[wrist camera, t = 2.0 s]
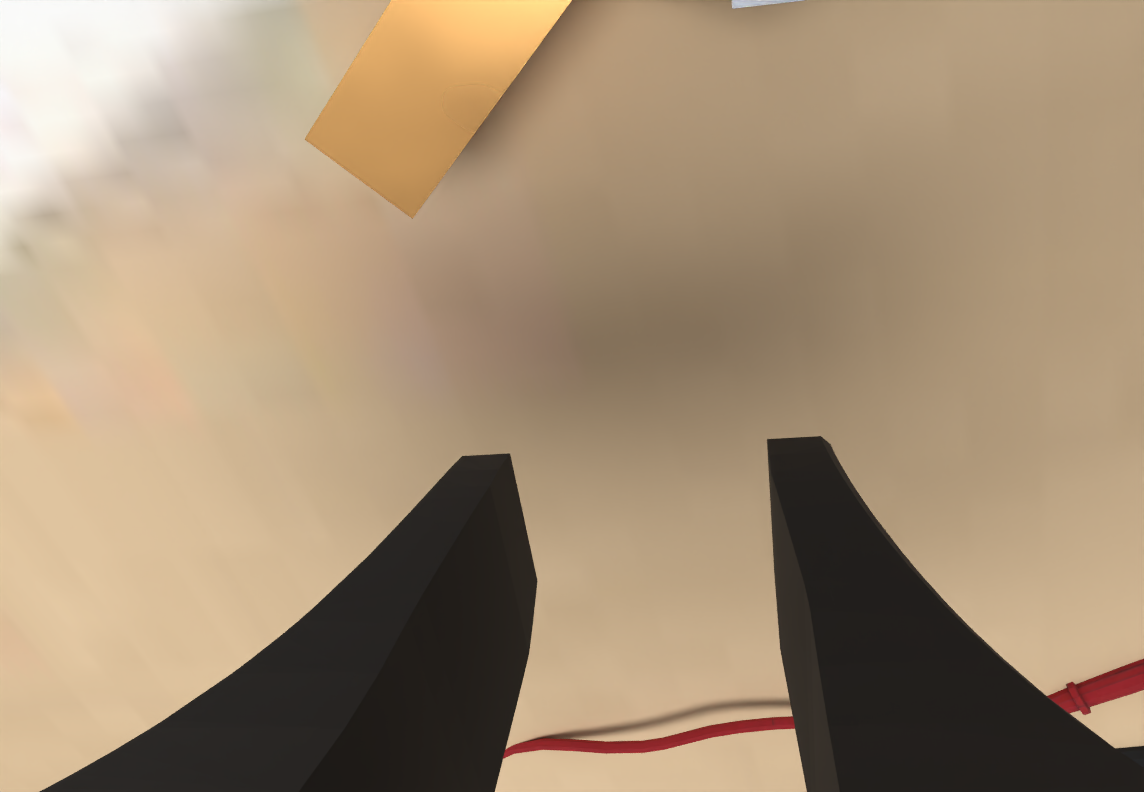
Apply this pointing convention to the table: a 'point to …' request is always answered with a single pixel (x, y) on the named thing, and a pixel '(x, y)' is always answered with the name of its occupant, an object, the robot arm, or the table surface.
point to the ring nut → (430, 88)
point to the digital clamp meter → (1069, 699)
